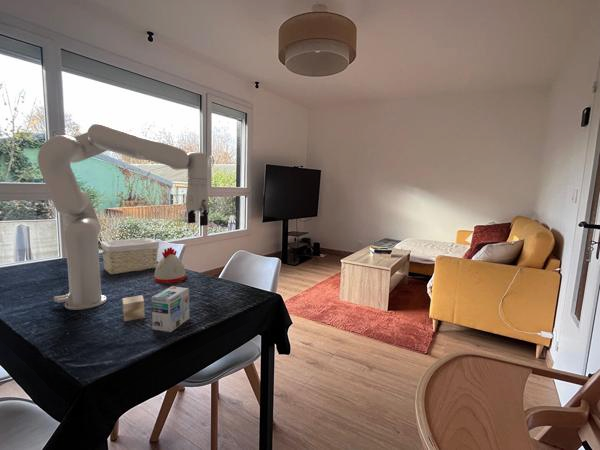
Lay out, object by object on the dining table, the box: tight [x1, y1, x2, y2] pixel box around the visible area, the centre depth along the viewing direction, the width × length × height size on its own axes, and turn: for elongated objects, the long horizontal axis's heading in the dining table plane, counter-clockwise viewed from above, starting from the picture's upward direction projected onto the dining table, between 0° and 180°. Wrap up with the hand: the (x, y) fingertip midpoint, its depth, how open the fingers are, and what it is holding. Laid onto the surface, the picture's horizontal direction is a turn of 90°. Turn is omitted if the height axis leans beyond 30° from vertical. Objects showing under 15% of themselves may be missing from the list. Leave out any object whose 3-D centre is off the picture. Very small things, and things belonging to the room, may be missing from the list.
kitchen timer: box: [153, 247, 187, 284], centre depth 143 cm, size 14×14×15 cm
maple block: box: [122, 294, 146, 322], centre depth 102 cm, size 6×6×6 cm
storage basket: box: [100, 237, 160, 275], centre depth 156 cm, size 24×16×15 cm
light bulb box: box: [151, 285, 190, 333], centre depth 97 cm, size 11×7×11 cm, turn 168°
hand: (197, 224), depth 126 cm, fingers open, 9 cm apart
